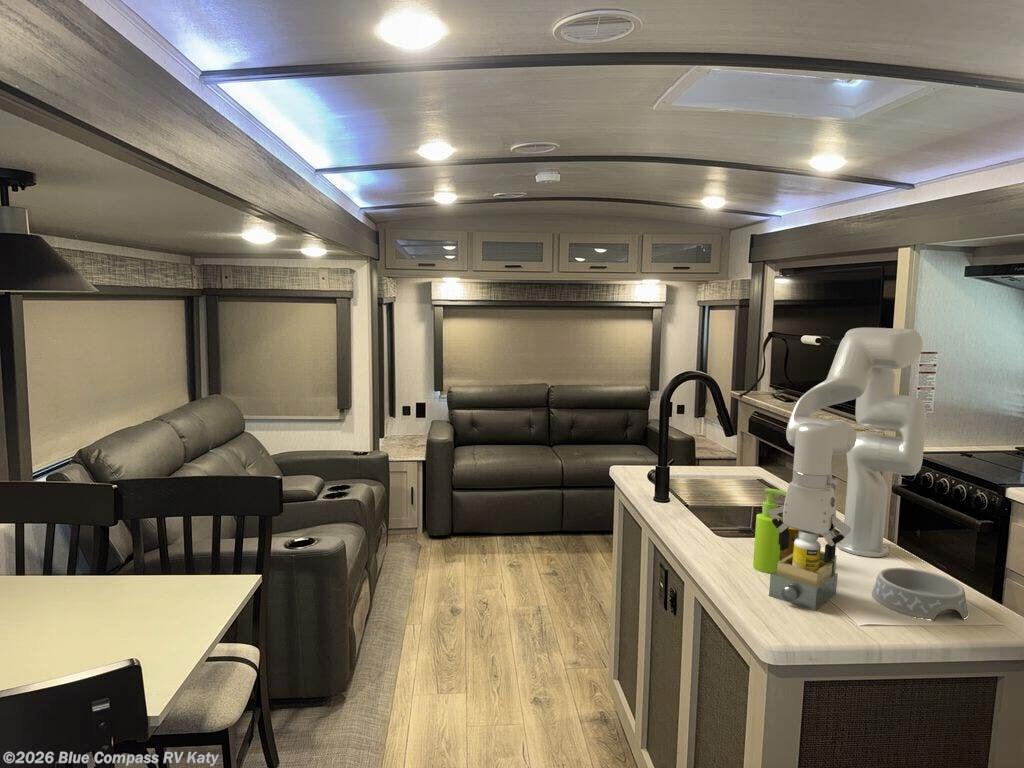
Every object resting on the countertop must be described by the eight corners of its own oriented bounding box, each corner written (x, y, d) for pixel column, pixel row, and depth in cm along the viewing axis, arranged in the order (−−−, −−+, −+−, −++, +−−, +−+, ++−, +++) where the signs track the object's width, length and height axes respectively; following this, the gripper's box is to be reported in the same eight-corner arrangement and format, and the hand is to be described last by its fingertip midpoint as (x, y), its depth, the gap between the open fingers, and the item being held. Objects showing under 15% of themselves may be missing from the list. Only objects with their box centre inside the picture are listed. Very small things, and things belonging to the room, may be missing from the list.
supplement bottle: (805, 580, 141) (808, 536, 140) (786, 570, 146) (789, 528, 145) (823, 576, 143) (827, 533, 142) (804, 567, 148) (807, 525, 147)
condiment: (807, 565, 163) (811, 518, 162) (773, 563, 164) (776, 517, 162) (796, 554, 171) (800, 510, 169) (763, 553, 171) (766, 508, 170)
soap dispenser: (779, 576, 156) (784, 494, 154) (750, 568, 160) (755, 489, 158) (785, 568, 160) (791, 489, 158) (757, 561, 165) (762, 484, 162)
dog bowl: (854, 588, 150) (856, 566, 150) (927, 586, 153) (929, 564, 152) (908, 624, 133) (910, 598, 133) (988, 620, 136) (991, 596, 135)
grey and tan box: (791, 580, 153) (794, 544, 152) (836, 594, 146) (839, 556, 145) (764, 598, 143) (767, 558, 142) (811, 613, 136) (814, 572, 135)
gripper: (859, 485, 139) (853, 562, 141) (779, 469, 151) (774, 540, 153) (847, 491, 134) (840, 571, 136) (765, 474, 146) (760, 548, 148)
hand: (805, 555), depth 144 cm, fingers open, 9 cm apart
